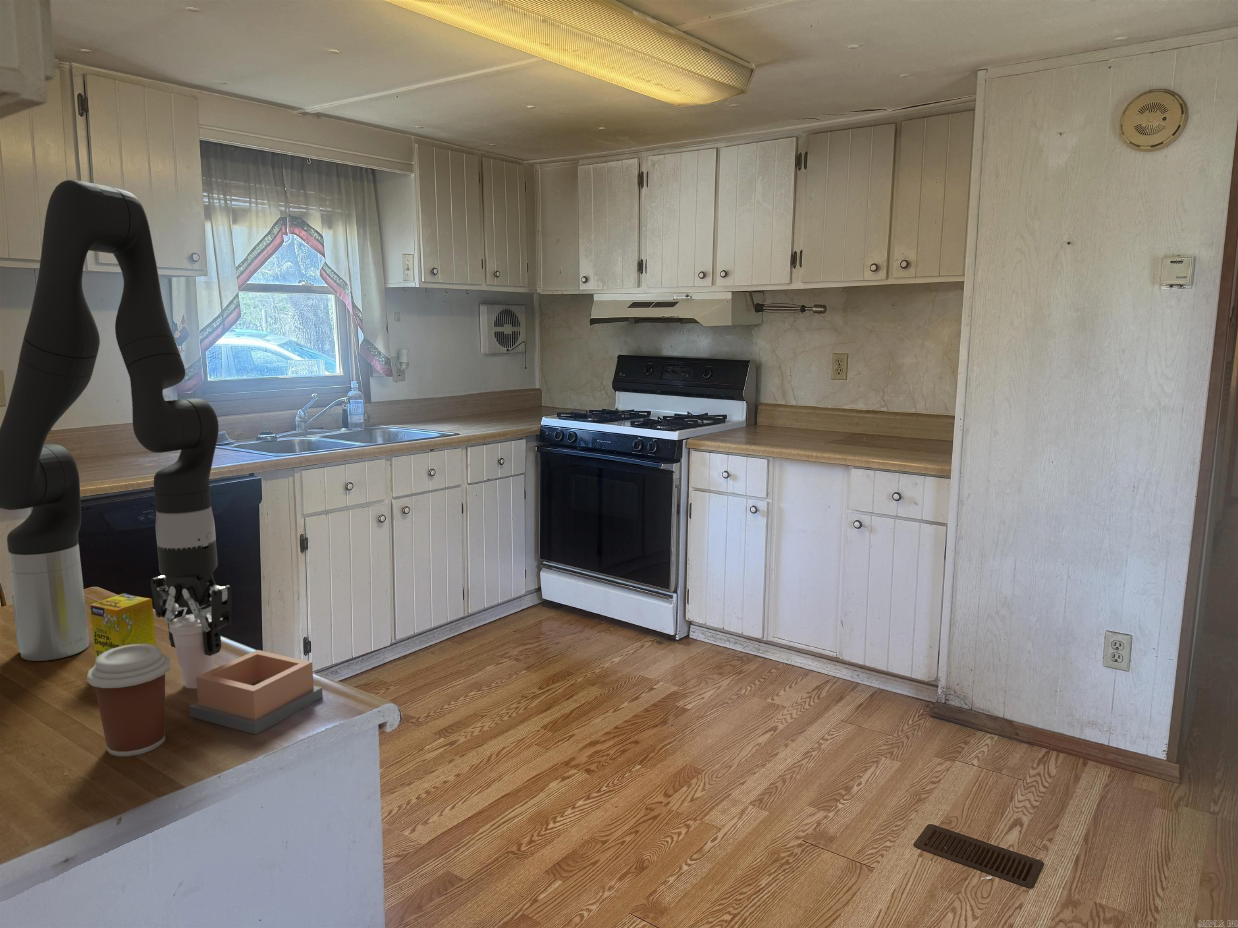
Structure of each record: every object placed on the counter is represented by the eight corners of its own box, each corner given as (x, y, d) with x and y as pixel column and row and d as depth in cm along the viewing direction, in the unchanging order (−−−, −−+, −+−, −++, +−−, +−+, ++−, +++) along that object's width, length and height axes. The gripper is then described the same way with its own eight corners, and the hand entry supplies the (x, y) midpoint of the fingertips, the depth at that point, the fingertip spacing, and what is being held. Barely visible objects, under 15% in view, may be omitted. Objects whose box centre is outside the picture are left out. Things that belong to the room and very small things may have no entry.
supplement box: (95, 673, 128) (88, 604, 127) (131, 658, 134) (124, 592, 132) (123, 679, 126) (116, 609, 124) (158, 664, 132) (152, 597, 130)
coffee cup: (150, 720, 114) (142, 635, 112) (192, 737, 109) (184, 649, 107) (79, 749, 106) (69, 658, 104) (121, 769, 101) (111, 674, 99)
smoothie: (202, 694, 122) (195, 600, 119) (163, 690, 123) (155, 597, 120) (231, 675, 128) (224, 586, 125) (194, 672, 129) (186, 583, 127)
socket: (190, 716, 115) (186, 677, 114) (260, 682, 126) (257, 646, 125) (255, 734, 110) (252, 694, 109) (322, 697, 121) (320, 660, 120)
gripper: (128, 539, 121) (138, 650, 124) (200, 551, 115) (209, 667, 118) (174, 527, 128) (183, 633, 131) (244, 538, 122) (252, 648, 125)
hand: (195, 649), depth 124 cm, fingers closed on smoothie, 6 cm apart
